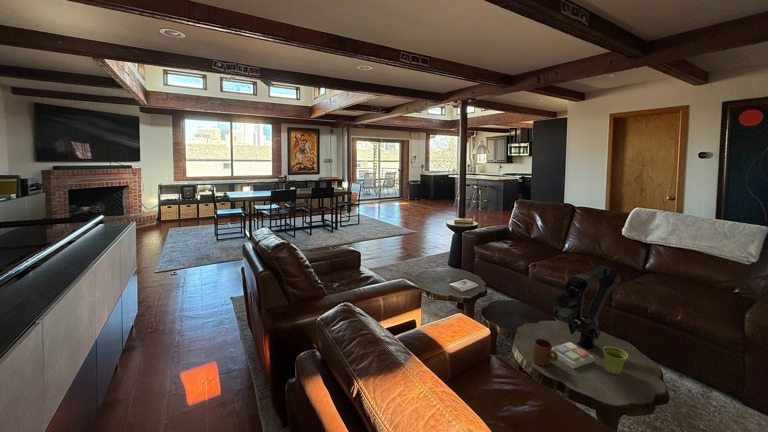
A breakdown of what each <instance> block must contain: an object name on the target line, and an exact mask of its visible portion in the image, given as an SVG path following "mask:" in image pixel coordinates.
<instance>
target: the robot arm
mask: <svg viewBox="0 0 768 432" xmlns="http://www.w3.org/2000/svg"><path fill="white" fill-rule="evenodd" d="M621 281H622V278H621V277H620V275H619V273H616V272H614V271H612V269H610V268H608V267H607V266H603V265H597V266H596V267H595V268H593V269H591V270H589V271H587V272H585V273H582V274H580V273H577V274H573V275H571V276H570V277H569V279H567V282H566V283H565V285H564V287H563V290H564V291H563V292H561V294H560V295H558V296H557V298H556V304H557V306H554V307H553V311H552V312H553V313H554V314H556V315H558V320H561V321H563V322H565V323H567V326H568V329H569V332H570V335H574V334H575V333H576V332H579V333H580V337H579V341H576V344H577V346H578V345H579V346H580V347H582V348H583V349H586V350H587V351H588V350H592V349H596V348H597V347H598V346H597V345H596V344H595V340H599V338H600V336H601V331H600V330H599V328H598V327H599V321H598V317H599V315H600V314H601V311H602V309H603V307H604V306H605V303H606V301H607V299H608V298H609V297H608V296H610V295H609V294H610V293H611V292H612V291H614V290H615V289H617V288H618V285H619V284H620V283H621ZM594 282H598V289H597V290H596V293H595V295H594V297H593V298H592V301H591V304H590V305H589V308H588V309H587V312H586V313H585V314H584V313H583V309H585V305H584V298H585V294H587V293H588V292H587V291H588V289H589V288H590V285H591V284H592V283H594Z"/></svg>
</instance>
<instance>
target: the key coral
mask: <svg viewBox="0 0 768 432" xmlns="http://www.w3.org/2000/svg"><path fill="white" fill-rule="evenodd" d="M578 348H579V347H578ZM574 353H576V354H578V355H579V356H580V358H581V359H583V358H586V357H588V356H589V354H590V353H589V352H588V351H586V350H584V348H581V347H580V348H579V349H576V350H574Z"/></svg>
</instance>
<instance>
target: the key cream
mask: <svg viewBox="0 0 768 432" xmlns="http://www.w3.org/2000/svg"><path fill="white" fill-rule="evenodd" d="M563 346H564V347H566V348H568V349H569V351H574V350H576V349H578V348H579V347H578V345H575V344H574V343H572V342H571V341H569V342H565V343H563Z"/></svg>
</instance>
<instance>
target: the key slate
mask: <svg viewBox="0 0 768 432" xmlns="http://www.w3.org/2000/svg"><path fill="white" fill-rule="evenodd" d="M553 347H554V350H555V351H557V352H558V353H560V354H561V355H564V354H565V353H567V352H569V349H568V348H566V347H564V346H563V345H562V344H559V345H556V346H553Z"/></svg>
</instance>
